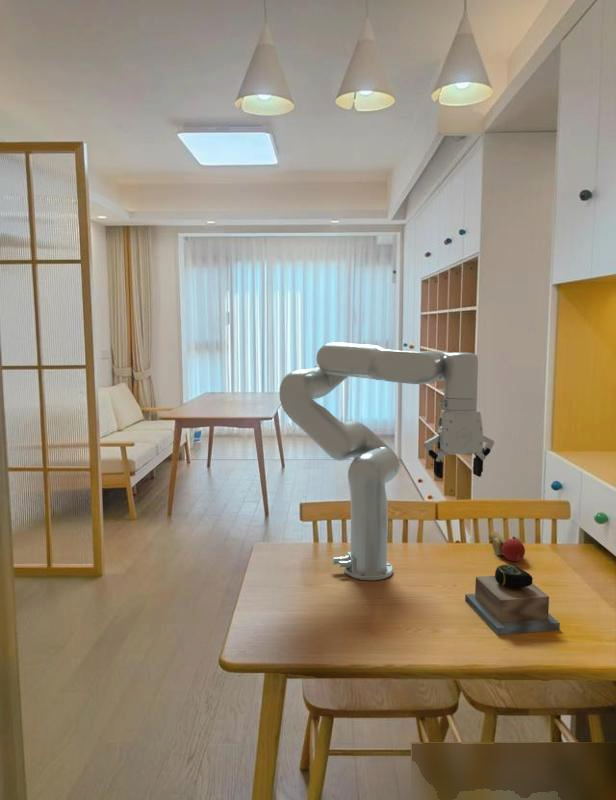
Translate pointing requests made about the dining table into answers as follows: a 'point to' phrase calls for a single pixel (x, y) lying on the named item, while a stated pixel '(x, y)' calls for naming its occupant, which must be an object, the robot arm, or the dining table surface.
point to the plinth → (511, 625)
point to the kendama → (507, 547)
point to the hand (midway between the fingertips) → (458, 476)
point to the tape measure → (512, 576)
